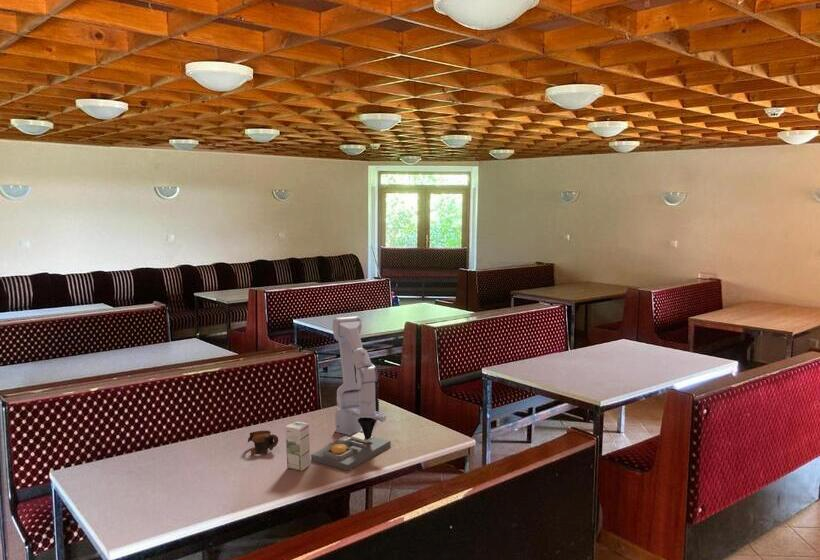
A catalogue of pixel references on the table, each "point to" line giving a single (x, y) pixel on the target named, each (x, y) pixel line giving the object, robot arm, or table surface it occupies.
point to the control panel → (351, 453)
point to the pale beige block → (345, 441)
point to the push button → (338, 449)
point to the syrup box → (298, 445)
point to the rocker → (361, 437)
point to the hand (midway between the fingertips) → (368, 437)
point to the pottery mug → (262, 442)
